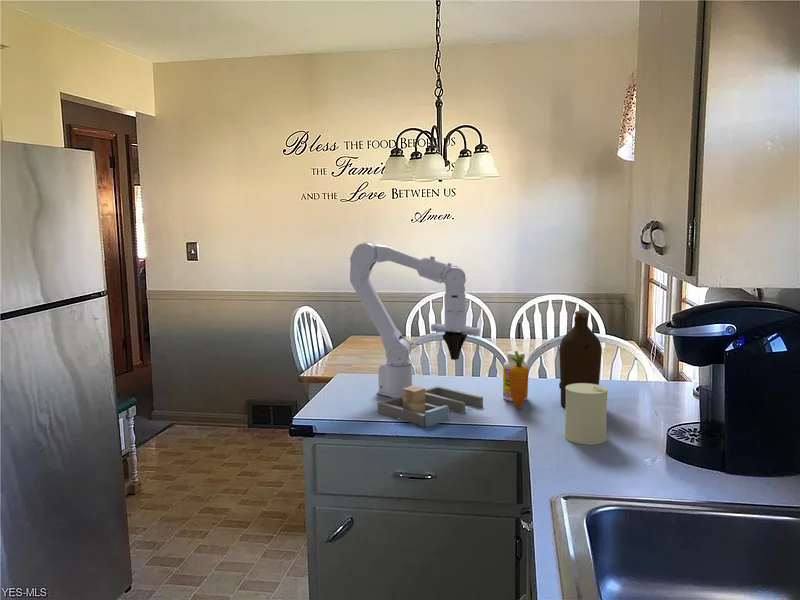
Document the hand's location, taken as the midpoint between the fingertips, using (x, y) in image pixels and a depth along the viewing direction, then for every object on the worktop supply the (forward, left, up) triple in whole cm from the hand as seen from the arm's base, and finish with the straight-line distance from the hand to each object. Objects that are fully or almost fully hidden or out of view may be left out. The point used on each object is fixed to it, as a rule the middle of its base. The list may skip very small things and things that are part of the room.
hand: (454, 359), depth 182 cm
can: (+44, -6, -11) cm, 46 cm away
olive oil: (+30, +15, -11) cm, 35 cm away
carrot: (+20, +2, -11) cm, 23 cm away
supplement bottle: (+14, +9, -11) cm, 20 cm away
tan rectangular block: (+4, -21, -10) cm, 24 cm away
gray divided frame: (+4, -14, -10) cm, 18 cm away
